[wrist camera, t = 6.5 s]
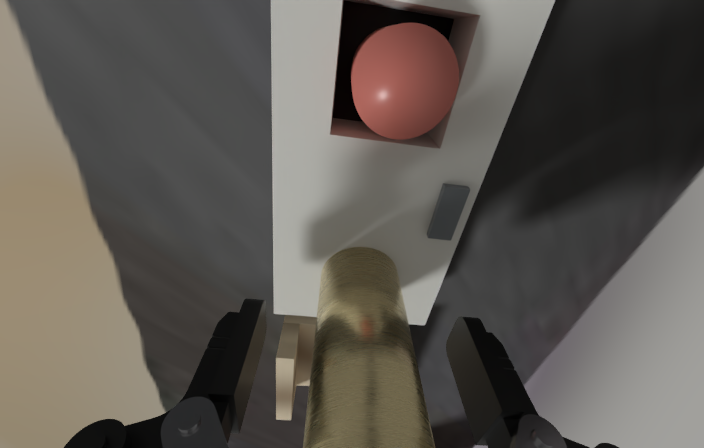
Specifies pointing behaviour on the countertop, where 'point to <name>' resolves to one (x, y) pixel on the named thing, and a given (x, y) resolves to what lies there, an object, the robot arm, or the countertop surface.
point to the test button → (404, 79)
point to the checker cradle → (385, 148)
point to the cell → (364, 360)
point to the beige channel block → (293, 361)
